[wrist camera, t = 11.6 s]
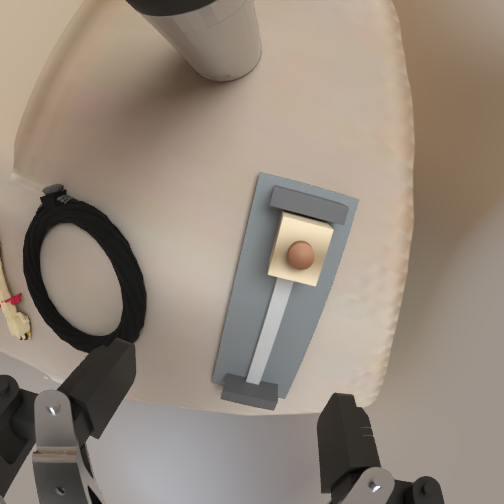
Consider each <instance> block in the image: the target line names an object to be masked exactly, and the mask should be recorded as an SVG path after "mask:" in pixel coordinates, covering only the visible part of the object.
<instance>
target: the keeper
mask: <svg viewBox="0 0 504 504" xmlns="http://www.w3.org/2000/svg"><path fill="white" fill-rule="evenodd" d="M333 231H334V230H333V228H332V227H331V226H330V225H329V224H328V223H327V222H326V221H325V220H321V219H317V218H314V217H310V216H306V215H303V214H299V213H295V212H291V211H288V210H284V209H283V210H282V214H281V218H280V222H279V226H278V230H277V233H276V237H275V241H274V245H273V249H272V252H271V256H270V261H269V269H268V275H271V276H275V277H279V278H283V279H287V280H291V281H295V282H299V283H304V284H308V285H312V286H316V284H317V281H318V278H319V275H320V272H321V269H322V266H323V263H324V260H325V257H326V253H327V250H328V247H329V244H330V240H331V237H332V234H333Z"/></svg>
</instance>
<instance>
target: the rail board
mask: <svg viewBox="0 0 504 504" xmlns="http://www.w3.org/2000/svg"><path fill="white" fill-rule="evenodd" d="M358 201H359V200H358V199H356V198H352V197H349V196H346V195H343V194H339V193H336V192H333V191H329V190H326V189H322V188H319V187H315V186H312V185H308V184H305V183H301V182H297V181H293V180H290V179H286V178H282V177H278V176H274V175H270V174H266V173H261V172H260V174H259V178H258V182H257V187H256V191H255V195H254V199H253V203H252V208H251V212H250V216H249V220H248V225H247V229H246V233H245V238H244V242H243V246H242V250H241V255H240V259H239V263H238V268H237V272H236V277H235V281H234V285H233V290H232V294H231V298H230V303H229V307H228V312H227V316H226V321H225V325H224V330H223V334H222V339H221V343H220V348H219V352H218V357H217V361H216V366H215V370H214V375H213V380H212V383H216V384H220V385H224V387H223V391H222V395H221V399H223V400H227V401H231V402H235V403H239V404H244V405H248V406H253V407H258V408H263V409H268V410H273V411H274V409H275V407H276V404H277V402H278V398H283V399H285V398H286V395H287V393H288V391H289V389H290V387H291V385H292V383H293V380H294V378H295V376H296V374H297V372H298V369H299V367H300V365H301V362H302V360H303V358H304V355H305V353H306V351H307V348H308V346H309V344H310V341H311V339H312V336H313V334H314V331H315V329H316V326H317V324H318V321H319V319H320V316H321V313H322V311H323V308H324V306H325V303H326V300H327V297H328V295H329V292H330V289H331V286H332V284H333V281H334V278H335V275H336V272H337V269H338V266H339V263H340V260H341V257H342V254H343V251H344V248H345V245H346V242H347V239H348V235H349V232H350V229H351V225H352V222H353V219H354V215H355V212H356V208H357V205H358ZM283 209H284V210H288V211H291V212H295V213H299V214H303V215H306V216H310V217H314V218H317V219H321V220H325V221H326V222H327V223H328V224H329V225H330V226H331V227H332V228H333V230H334V231H333V234H332V237H331V240H330V244H329V247H328V250H327V253H326V257H325V260H324V263H323V266H322V269H321V272H320V275H319V278H318V281H317V284H316V286H312V285H308V284H304V283H299V282H295V281H291V280H287V279H283V278H279V277H275V276H271V275H268V269H269V261H270V256H271V252H272V249H273V245H274V241H275V237H276V233H277V230H278V226H279V222H280V218H281V214H282V210H283Z"/></svg>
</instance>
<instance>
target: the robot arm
mask: <svg viewBox="0 0 504 504" xmlns="http://www.w3.org/2000/svg"><path fill="white" fill-rule="evenodd" d="M126 1H127V2H128V3H129V4H130V5H131V6H132V7H133V8H134V9H135V10H136V11H137V12H138V13H140V14H141V15H142V16H143V17H144V18H145V19H146V20H147V21H148V22H149V23H150V24H151V25H152V26H153V27H154V28H155V29H156V30H157V31H158V32H159V33H160V34H161V35H162V36H163V37H164V38H165V39H166V40H167V41H168V42H169V43H170V44H171V45H172V46H173V47H174V48H175V49H176V50H177V51H178V52H179V53H180V54H181V55H182V56H183V57H184V58H185V59H186V61H187V62H188V63H189V64H190V65H191V66H192V67H193V68H194V69H195V70H196V71H197V73H199V74H200V75H201V76H203V77H204V78H207V79H209V80H213V81H231V80H235V79H238V78H240V77H242V76H244V75H246V74H248V73H249V72H250V71H251V70H253V68H254V67H255V66H256V65H257V64H258V62H259V60H260V58H261V54H262V44H261V38H260V32H259V27H258V21H257V16H256V10H255V5H254V0H126ZM135 376H136V358H135V345H134V344H132V343H129V342H127V341H124V340H122V339H119V338H116V339H115V340H114V341H113V342H112V343H111V344H110V345H109V346H108V347H106V346H104V345H102V346H100V347H98V348H96V349H94V350H92V351H91V352H90V353H89V354H88V355H87V357H86V358H85V360H83V361H82V362H81V363H80V365H79V366H78V367H77V368H76V369H75V370H74V371H73V372H72V373H71V374H70V376H69V377H68V378H67V379H66V380H65V381H64V382H63V384H62V385H61V386H60V387H59V388H58V389H57V390H46V391H43V392H41V393H40V394H36V393H33V392H29V391H26V390H23V389H20V388H19V386H18V383H17V382H16V380H15V379H14V378H13V377H11V376H9V375H0V504H6V503H5V501H4V499H3V498H4V496H5V494H6V492H7V491H8V489H9V487H10V485H11V483H12V481H13V480H14V478H15V476H16V474H17V473H18V471H19V469H20V467H21V466H22V464H23V462H24V461H25V459H26V457H27V456H28V454H29V452H30V451H31V449H32V447H33V446H34V444H35V443H36V445H37V451H36V452H33V455H32V462H33V469H34V476H35V482H36V487H37V493H38V498H39V502H40V504H105V502H104V499H103V496H102V494H101V492H100V489H99V487H98V485H97V482H96V479H95V476H94V472H93V469H92V465H91V461H90V458H89V454H88V449H87V445H86V440H87V439H88V437H89V436H92V437H94V438H96V439H99V438H100V436H101V434H102V433H103V431H104V429H105V428H106V426H107V424H108V423H109V421H110V419H111V418H112V416H113V414H114V413H115V411H116V410H117V408H118V406H119V405H120V403H121V401H122V400H123V398H124V397H125V395H126V394H127V392H128V390H129V389H130V387H131V386H132V384H133V382H134V379H135ZM317 436H318V448H319V462H320V477H321V493H331V498H332V499H331V500H330V501H329V502H328V503H327V504H444V500H443V495H442V492H441V487H440V485H439V483H438V482H437V481H436V480H435V479H434V478H432V477H429V476H424V477H421V478H419V479H417V480H416V481H415V482H414V483H412V482H405V481H400V480H395V479H394V478H393V476H392V475H391V473H390V472H388V471H387V470H386V469H383V468H381V465H380V460H379V456H378V453H377V448H376V444H375V440H374V437H373V432H372V429H371V424H370V421H369V417H368V415H367V414H366V413H365V411H364V410H363V409H362V407H356V403H355V399H354V396H353V395H352V394H342V393H334V394H333V395H332V396H331V398H330V400H329V401H328V403H327V405H326V406H325V408H324V410H323V411H322V413H321V415H320V416H319V419H318V423H317Z"/></svg>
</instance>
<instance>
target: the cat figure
mask: <svg viewBox="0 0 504 504" xmlns="http://www.w3.org/2000/svg"><path fill="white" fill-rule="evenodd" d="M0 247H1V246H0ZM20 297H21V293H19V294H18V295H16V296H14V297H11V294H10V293H9V291H8V288H7V285H6V281H5V278H4V274H3V271H2V263H1V258H0V307H2V310H3V313H4V314H5V315H6V318H7V325H8V327H9V330H10V332H11V334H12V335H13V336H17V338H18V339H20V340H22V339H24V340H27V339H28V336H29V340H30V339H31V338H30V336H31V332H30V325H29V322H30V320H28V316H27V317H26V316H25V315H24V314H22V313H20V312H17V309H16V306H15V305H14V304H15V302H17V303H19V302H21V301H20Z"/></svg>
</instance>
